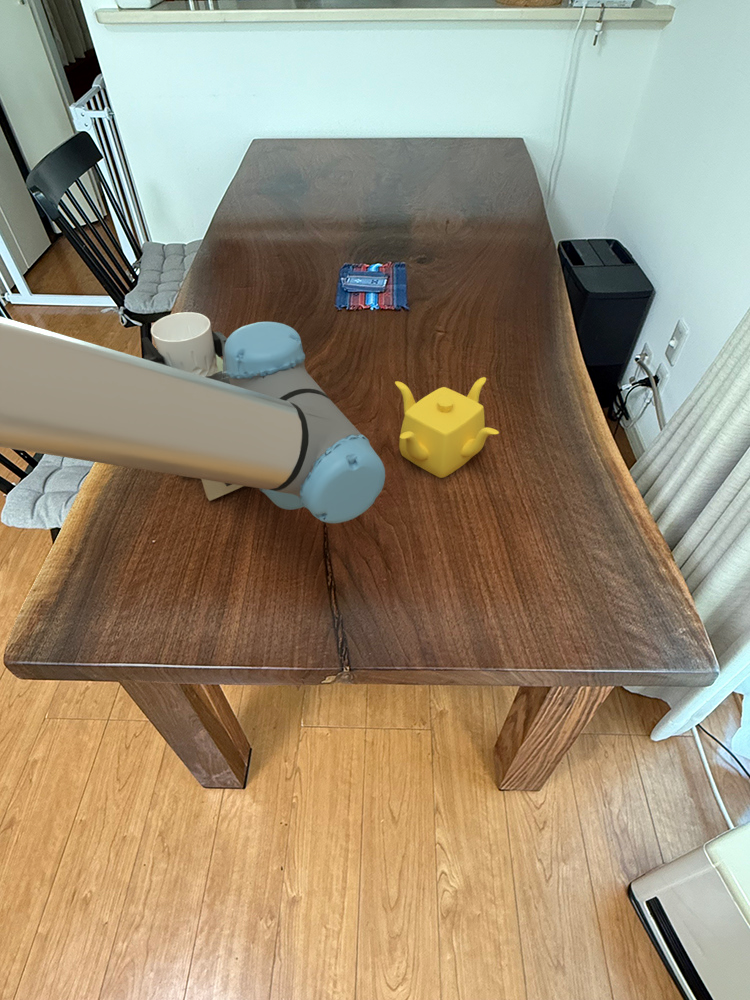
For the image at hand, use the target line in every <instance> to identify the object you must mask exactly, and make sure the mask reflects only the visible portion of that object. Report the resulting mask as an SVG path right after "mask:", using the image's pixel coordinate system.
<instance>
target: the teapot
mask: <svg viewBox="0 0 750 1000" xmlns="http://www.w3.org/2000/svg"><path fill="white" fill-rule="evenodd" d="M486 382H487V377H485V376H482V377H480V378H478V379H476V381H475V382H474V384H473V385H472V387H471V388H470V390H469V392H468V394H467V395H463V394H461V393H459V392H457V391H455V390H453V389H450V388H449V387H446V386H442V387H439V388H437V389H436V390H434V391H432V392H430V393H429V394H426V396H424V397H422V398H421V399H419V400H418V401H416V400H415V398H414V395H413V393H412V391H411V389H410V388H409V387H408V385H407V384H406V383H403V382H401V381H398V380H397V381H395V382H394V384H395V386H396V387H397V388H398V390H399V391H400V393H401V397H402V401H403V420H402V425H401V429H400V434H399V442H398V443H399V444H398V449H399V452H400V455H401V456H402V457H403V458H405V459H406V460H407V461H409V462H411V463H413V464H414V465H415V466H417V467H419V468H420V469H422V470H425V471H426V472H427V473H430V474H432V475H433V476H435V477H437V478H440V479H443V478H446V477H448V476H449V475H451V474H453V473H455V472H456V471H457V470H459V469H460V468H461V467H463V466H464V465H465V464H467V463H468V462H469V461H470V460H471V459H472V458H473V457H474V456H475V455H477V454H478V453H480V452H481V450H482V449H483V448H484V445H485V444H486V440H487V438H488V437H489V436H493V435H495V436H496V435H498V434H500V431H498V430H497V429H495V428H492V427H487V426H486V423H485V419H486V418H485V409H484V408H485V407H484V405H482V404H481V403H479V401H480V400H479V399H480V395H481V391H482V388H483V387H484V385H485V383H486Z"/></svg>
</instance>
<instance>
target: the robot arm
mask: <svg viewBox="0 0 750 1000" xmlns="http://www.w3.org/2000/svg"><path fill="white" fill-rule="evenodd" d="M212 336H213V341H214V347H215V353H216V355H217V356H218V357H220V358H221V357H222V360H223V371H220V372H217V373H215V374H213V375H211V376H206V377H203V376H200V375H197V374H194V373H190V372H187V371H183V370H180V369H176V368H173V367H171V366H168V365H166V364H165V361H164V358H163V356H162V355H161V354H160V353H159V352H158V351H157V348H156V345H155V344H153V343H152V341H151V340H150V339H149V338H148V337H147V336H145V337H142V338H141V341H142V345H143V347H144V351H145V353H146V354H145V355H144V357H143V358H142V357H139V356H135V355H132V354H128V353H127V352H122V351H119V350H115V349H112V348H108V347H106V346H102V345H99V344H95V343H92V342H88V341H85V340H81V339H78V338H75V337H71V336H68V335H65V334H62V333H58V332H54V331H51V330H47V329H44V328H41V327H37V326H35V325H31V324H27V323H25V322H24V323H23V322H20V321H17V320H14V319H11V318H7V317H4V316H0V448H4V449H9V450H15V451H24V452H29V453H36V454H42V455H48V456H55V457H62V458H67V459H72V460H73V459H74V460H80V461H86V462H93V463H99V464H104V465H110V466H116V467H123V468H130V469H136V470H141V471H149V472H155V473H161V474H167V475H174V476H178V477H179V476H180V477H187V478H192V479H198V480H201V479H204V480H210V481H217V482H223V483H229V484H235V485H242V486H243V487H247V488H248V487H249V488H256V489H258V490H259V491H260V492H262V494H264V495H265V496H267V498H268V499H269V500H270V501H271V502H272V503H273V504H274V505H275V506H277V507H278V508H280V509H283V510H287V511H288V510H289V511H293V510H298V509H302V508H305V509H307V510H308V511H309V512H310V513H311V514H312V516H313V517H315V518H316V519H318V520H319V521H321V522H323V523H327V524H341V523H345V522H349V521H351V520H354V519H355V518H357V517H359V516H360V515H363V514H364V513H365V512H366V511H367V510H368V509H369V508H370V507H372V506H373V505H374V503H375V501H376V499H377V497H379V495H380V493H381V492H382V491H383V488H384V486H385V483H386V482H385V481H386V469H385V465H384V463H383V460H382V459H381V457H380V456H379V455H378V454H377V452H376V451H375V450H374V448H373V447H372V446H371V444H370V440H369V438H367V437H366V436H365V434H362V433H361V432H360V431H359V430H358V428H356V426H354V424H353V422H351V421H350V420H349V419H348V417H346V415H345V414H344V413H343V412H342V411H341V410H340V409H339V408H338V406H337V405H336V404H335V403H334V402H333V401H332V400H331V399H330V397H329V396H328V395H327V393H326V392H325V391H324V390H323V389H322V388H321V387H320V385H318V383H317V382H316V381H315V380H314V379H313V378H312V376H311V375H310V374H309V373H308V371H307V370H306V365H305V360H306V354H305V352H304V350H303V349H304V348H303V344H302V339H301V336H300V333H298V332H297V330H296V329H294V328H293V327H291V326H289V325H287V324H285V323H281V322H276V321H258V322H254V323H250V324H246V325H243V326H241V327H239V328H237V329H236V330H234V331H233V332H232V333H230V335H229V336H228V337H226V336H225V335H224V334H223V333H222V332H221V331H216V332H214V331H213V330H212Z"/></svg>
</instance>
